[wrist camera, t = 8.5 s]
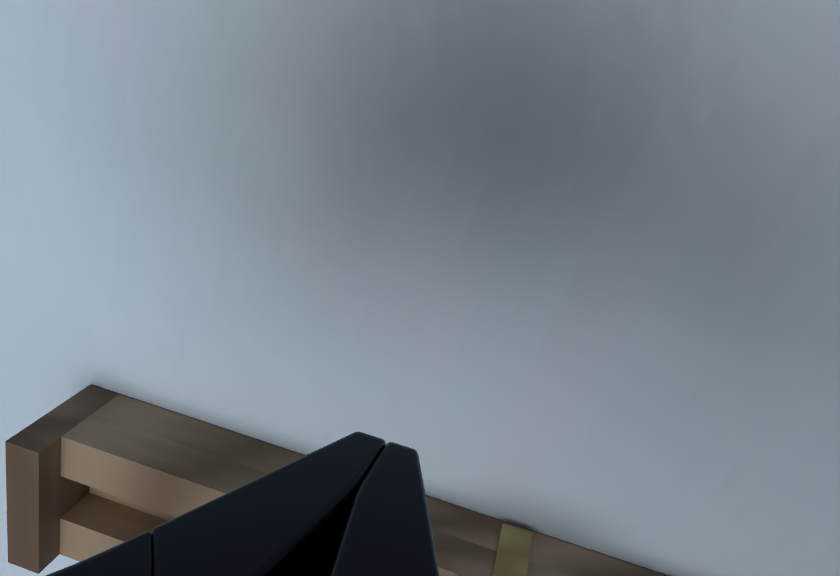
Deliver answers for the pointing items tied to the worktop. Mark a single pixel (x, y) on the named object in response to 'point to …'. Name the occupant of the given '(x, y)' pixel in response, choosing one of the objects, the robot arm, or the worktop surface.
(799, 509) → the worktop surface
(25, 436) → the rail
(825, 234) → the worktop surface
